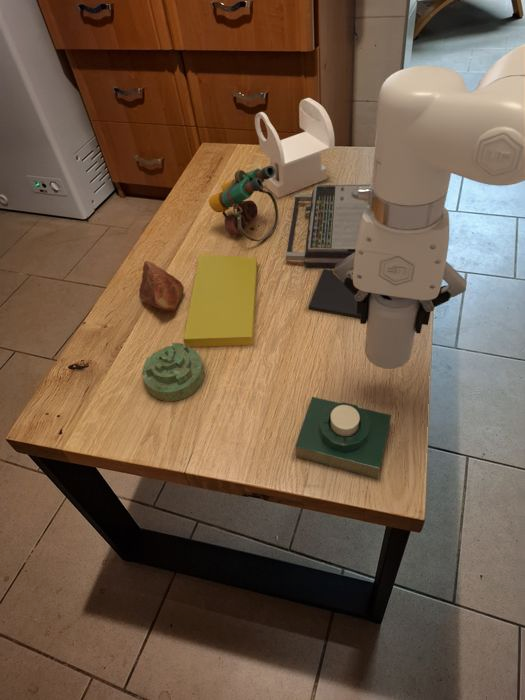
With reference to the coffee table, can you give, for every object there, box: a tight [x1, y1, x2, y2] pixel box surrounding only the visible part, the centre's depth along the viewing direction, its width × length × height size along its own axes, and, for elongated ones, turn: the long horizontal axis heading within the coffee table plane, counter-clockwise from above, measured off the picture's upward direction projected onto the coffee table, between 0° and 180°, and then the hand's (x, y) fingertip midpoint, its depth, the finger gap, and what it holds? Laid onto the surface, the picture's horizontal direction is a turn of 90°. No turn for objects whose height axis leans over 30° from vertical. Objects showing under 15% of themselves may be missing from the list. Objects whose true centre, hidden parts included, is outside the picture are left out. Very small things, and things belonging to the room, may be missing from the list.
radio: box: [285, 183, 372, 270], centre depth 103 cm, size 24×5×20 cm
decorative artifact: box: [141, 342, 205, 402], centre depth 80 cm, size 10×7×10 cm
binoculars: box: [208, 165, 279, 242], centre depth 103 cm, size 14×14×15 cm
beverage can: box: [364, 293, 421, 370], centre depth 65 cm, size 6×6×12 cm
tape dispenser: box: [254, 97, 336, 199], centre depth 113 cm, size 14×13×18 cm
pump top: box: [330, 405, 360, 437], centre depth 68 cm, size 4×4×2 cm
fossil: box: [138, 260, 185, 311], centre depth 93 cm, size 13×8×10 cm
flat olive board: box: [183, 253, 259, 348], centre depth 93 cm, size 12×2×24 cm
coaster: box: [308, 268, 361, 319], centre depth 92 cm, size 11×11×1 cm
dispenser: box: [294, 396, 392, 479], centre depth 70 cm, size 12×9×5 cm
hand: (391, 320), depth 64 cm, fingers closed on beverage can, 6 cm apart
